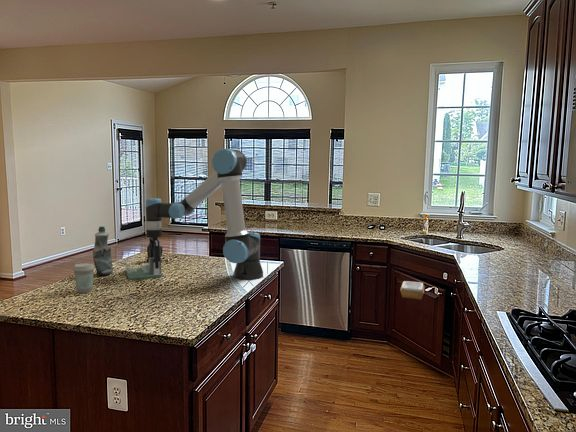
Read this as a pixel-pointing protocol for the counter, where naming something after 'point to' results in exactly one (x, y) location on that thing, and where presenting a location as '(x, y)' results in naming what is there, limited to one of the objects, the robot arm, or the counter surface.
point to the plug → (151, 265)
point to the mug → (149, 256)
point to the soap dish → (412, 290)
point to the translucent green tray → (139, 273)
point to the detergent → (102, 253)
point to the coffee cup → (84, 277)
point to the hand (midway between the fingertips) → (154, 272)
